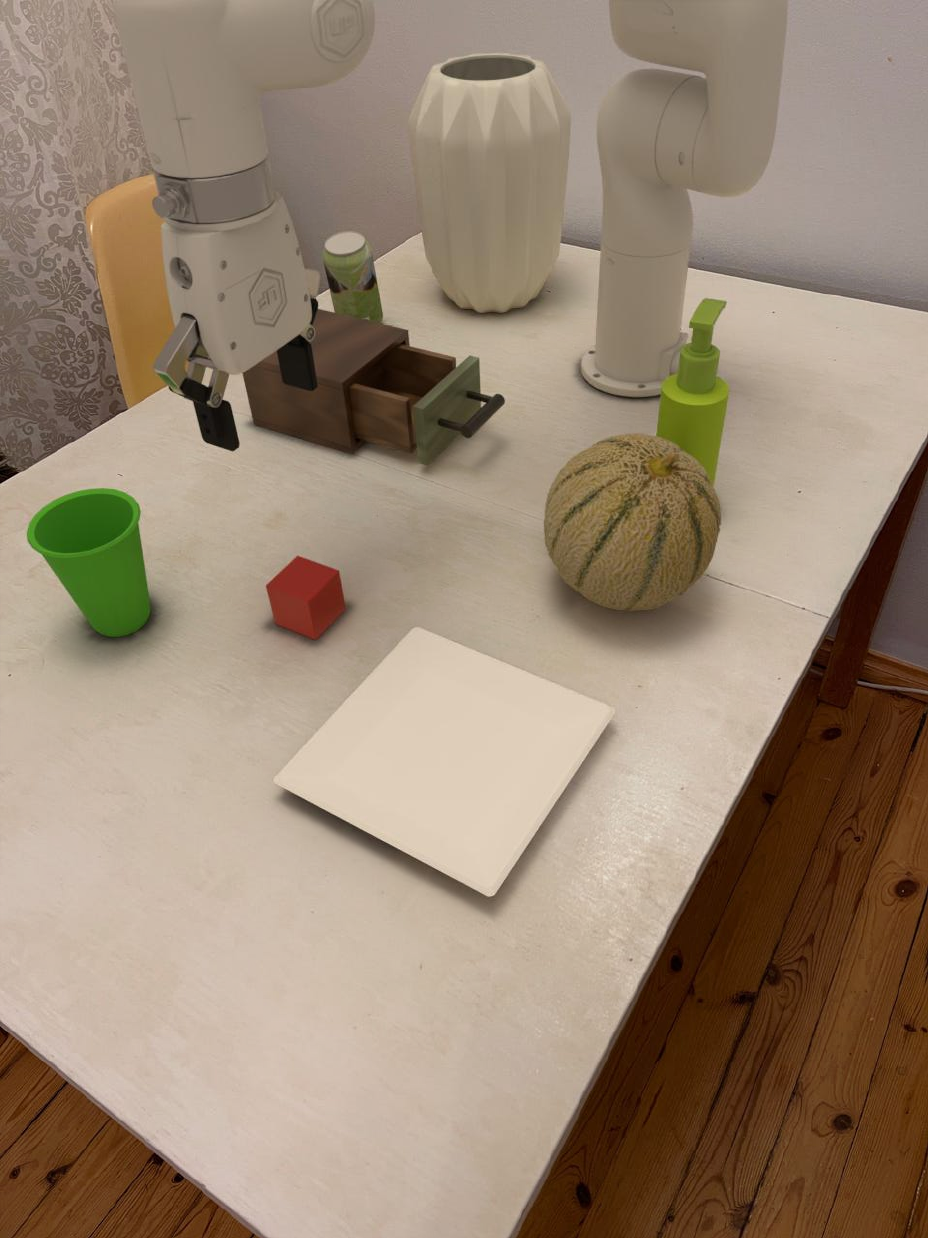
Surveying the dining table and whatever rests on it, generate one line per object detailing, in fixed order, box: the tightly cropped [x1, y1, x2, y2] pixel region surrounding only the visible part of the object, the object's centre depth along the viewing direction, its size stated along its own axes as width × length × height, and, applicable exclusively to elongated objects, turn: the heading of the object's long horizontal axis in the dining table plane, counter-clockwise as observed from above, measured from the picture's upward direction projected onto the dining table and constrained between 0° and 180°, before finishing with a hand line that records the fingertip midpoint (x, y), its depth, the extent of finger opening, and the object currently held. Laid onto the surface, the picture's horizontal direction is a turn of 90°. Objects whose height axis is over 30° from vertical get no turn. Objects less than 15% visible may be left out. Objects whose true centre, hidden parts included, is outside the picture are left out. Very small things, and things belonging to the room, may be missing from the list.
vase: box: [407, 51, 572, 314], centre depth 121 cm, size 20×20×27 cm
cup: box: [26, 487, 152, 638], centre depth 82 cm, size 9×9×11 cm
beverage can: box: [322, 230, 384, 324], centre depth 121 cm, size 6×7×12 cm
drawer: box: [347, 344, 506, 467], centre depth 103 cm, size 17×11×7 cm
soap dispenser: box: [655, 297, 730, 488], centre depth 88 cm, size 6×7×20 cm
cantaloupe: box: [543, 432, 722, 612], centre depth 81 cm, size 15×15×15 cm
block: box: [265, 555, 346, 641], centre depth 84 cm, size 4×4×4 cm
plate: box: [272, 626, 616, 898], centre depth 72 cm, size 19×19×2 cm
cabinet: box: [241, 308, 411, 455], centre depth 107 cm, size 14×13×9 cm
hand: (262, 414), depth 76 cm, fingers open, 9 cm apart
